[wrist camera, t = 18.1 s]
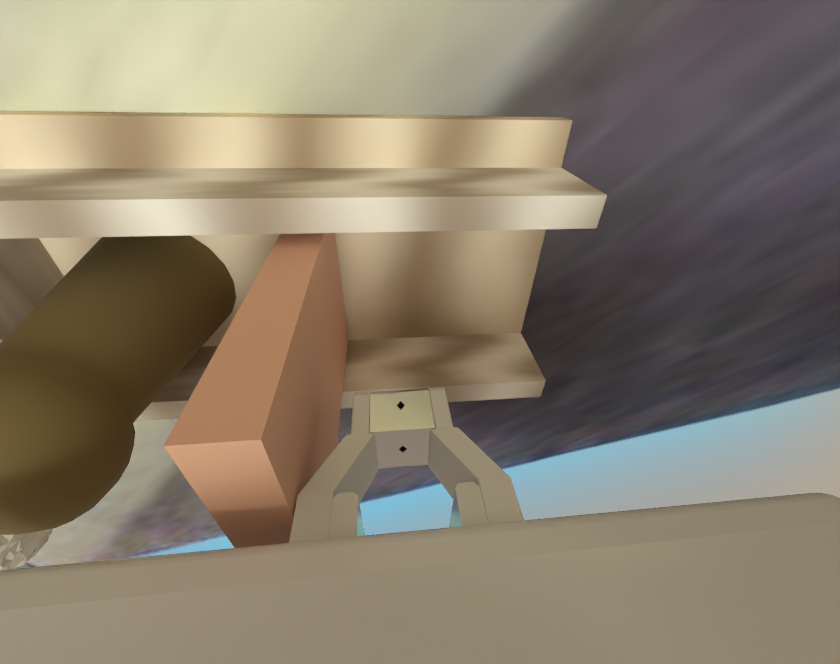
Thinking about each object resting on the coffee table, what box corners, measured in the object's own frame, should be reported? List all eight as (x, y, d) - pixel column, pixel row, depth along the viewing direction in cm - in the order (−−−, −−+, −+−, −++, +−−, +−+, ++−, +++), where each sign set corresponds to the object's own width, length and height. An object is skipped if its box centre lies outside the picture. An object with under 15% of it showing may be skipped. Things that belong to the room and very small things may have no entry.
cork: (81, 204, 15) (-339, 413, 6) (238, 243, 16) (82, 452, 8) (106, 319, 18) (-144, 559, 9) (234, 342, 20) (122, 565, 11)
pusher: (331, 208, 16) (261, 439, 6) (348, 336, 20) (322, 587, 11) (294, 208, 15) (162, 446, 6) (319, 338, 20) (266, 593, 10)
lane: (562, 117, 15) (626, 137, 11) (507, 359, 24) (533, 418, 20) (-55, 110, 13) (-236, 132, 9) (126, 377, 22) (71, 448, 18)
